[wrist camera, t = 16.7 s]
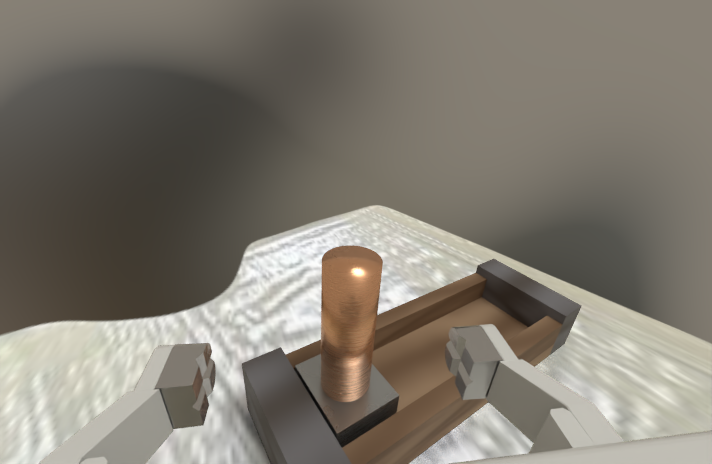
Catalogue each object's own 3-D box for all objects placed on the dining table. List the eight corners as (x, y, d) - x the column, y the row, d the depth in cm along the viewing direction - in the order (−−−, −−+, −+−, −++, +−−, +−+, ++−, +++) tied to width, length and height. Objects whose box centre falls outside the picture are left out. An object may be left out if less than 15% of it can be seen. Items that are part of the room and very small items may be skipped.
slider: (394, 423, 24) (420, 273, 19) (335, 462, 22) (343, 303, 16) (349, 366, 29) (358, 230, 23) (295, 392, 26) (290, 248, 20)
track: (564, 343, 35) (581, 305, 33) (304, 543, 19) (302, 497, 17) (484, 292, 42) (493, 258, 40) (247, 408, 27) (241, 363, 24)
